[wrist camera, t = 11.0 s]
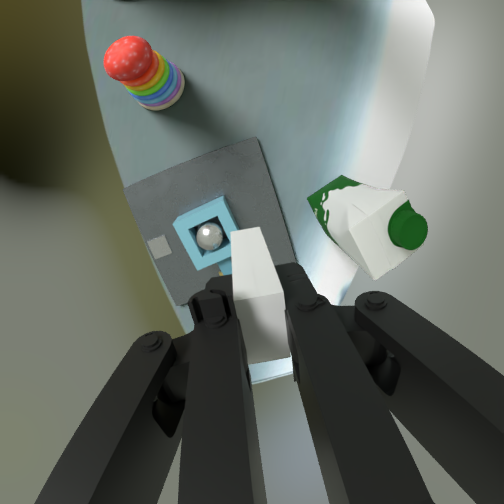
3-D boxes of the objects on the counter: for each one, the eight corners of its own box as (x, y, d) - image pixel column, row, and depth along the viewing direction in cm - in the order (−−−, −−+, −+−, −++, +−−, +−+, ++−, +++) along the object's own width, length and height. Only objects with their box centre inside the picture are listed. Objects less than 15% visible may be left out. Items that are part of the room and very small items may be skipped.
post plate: (124, 188, 41) (110, 194, 35) (255, 136, 40) (260, 134, 34) (177, 303, 49) (172, 322, 43) (296, 263, 48) (304, 279, 42)
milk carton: (366, 210, 45) (438, 252, 27) (324, 239, 47) (379, 298, 28) (343, 167, 42) (416, 185, 24) (298, 196, 44) (348, 234, 25)
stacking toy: (135, 114, 37) (77, 96, 19) (137, 68, 34) (85, 27, 16) (185, 108, 37) (154, 80, 20) (186, 61, 34) (159, 9, 17)
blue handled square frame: (218, 294, 47) (217, 313, 42) (177, 216, 42) (170, 227, 36) (261, 276, 47) (265, 294, 41) (223, 195, 41) (222, 202, 36)
